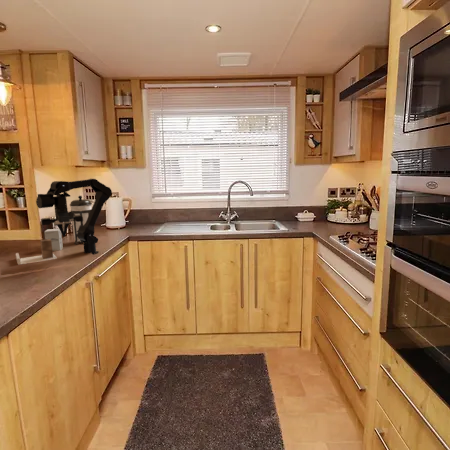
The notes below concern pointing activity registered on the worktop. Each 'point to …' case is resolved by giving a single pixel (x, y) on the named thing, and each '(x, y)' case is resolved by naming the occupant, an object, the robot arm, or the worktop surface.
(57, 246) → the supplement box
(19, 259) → the white shallow tray
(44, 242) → the block
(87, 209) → the coffee press
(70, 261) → the worktop surface
